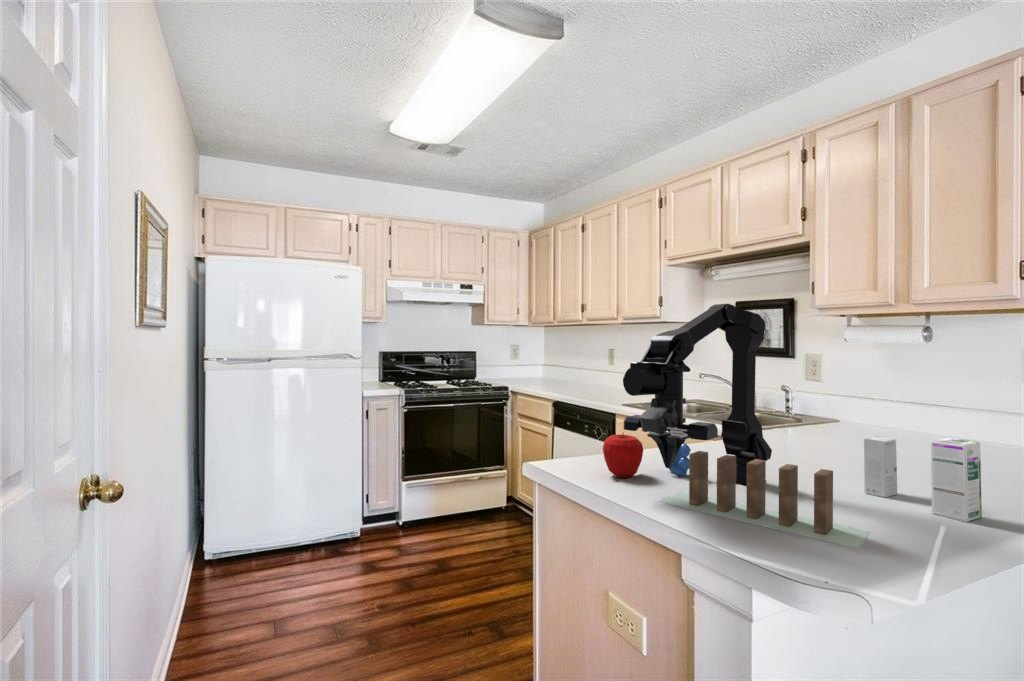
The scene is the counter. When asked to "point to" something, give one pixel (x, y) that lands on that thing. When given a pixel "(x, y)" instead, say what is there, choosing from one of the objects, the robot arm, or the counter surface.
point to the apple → (622, 455)
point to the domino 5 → (823, 501)
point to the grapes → (681, 461)
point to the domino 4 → (788, 495)
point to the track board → (775, 521)
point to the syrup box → (956, 479)
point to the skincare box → (880, 466)
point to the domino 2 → (726, 483)
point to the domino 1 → (698, 478)
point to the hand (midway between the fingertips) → (668, 467)
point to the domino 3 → (756, 488)
